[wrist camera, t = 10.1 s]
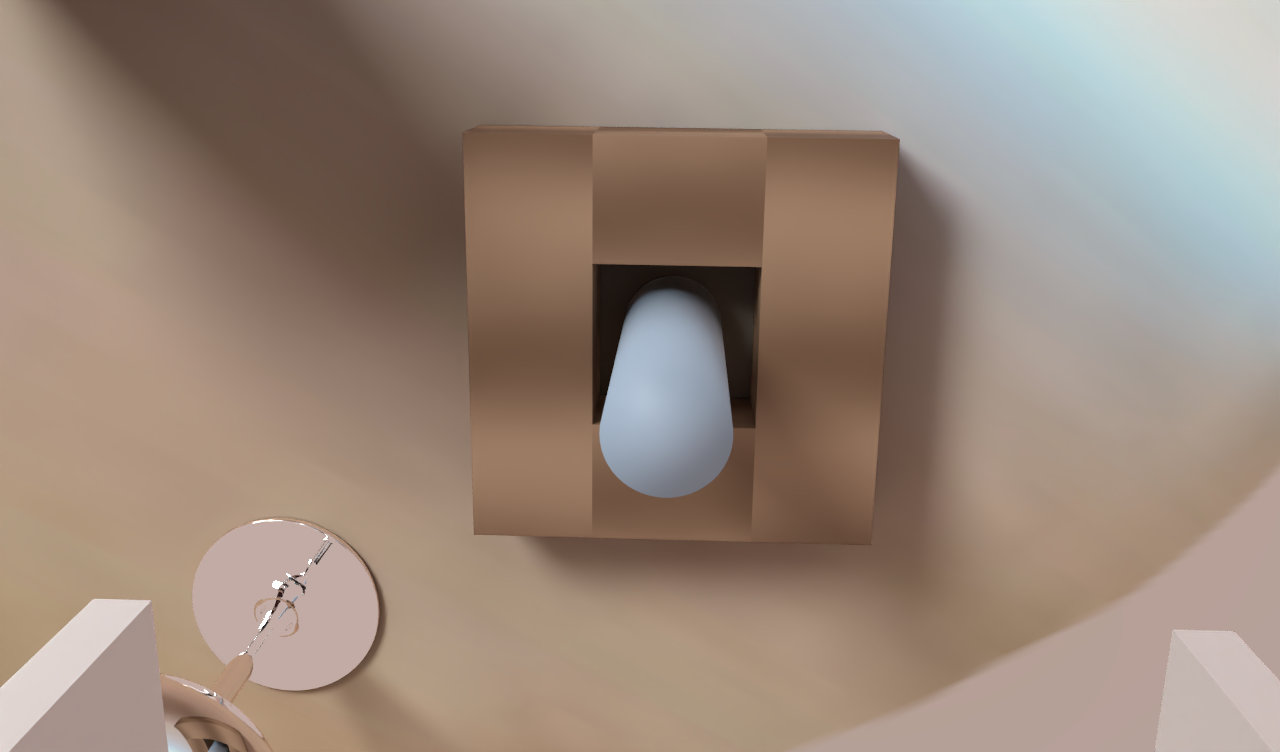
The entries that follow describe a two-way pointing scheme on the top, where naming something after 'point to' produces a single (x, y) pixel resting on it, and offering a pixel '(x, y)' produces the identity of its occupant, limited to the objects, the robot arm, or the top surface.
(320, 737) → the top surface
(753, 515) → the hole block
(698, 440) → the peg
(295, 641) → the wineglass
